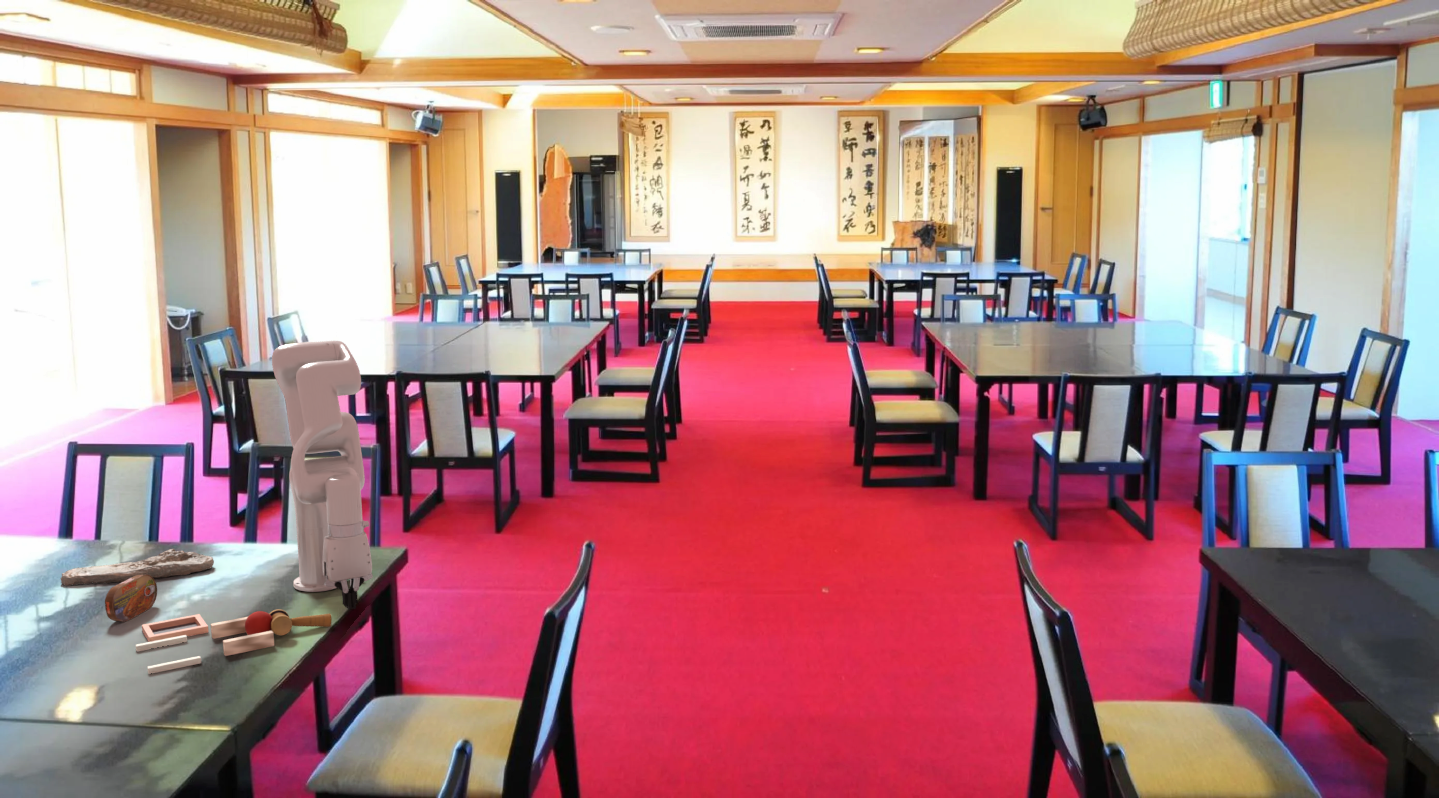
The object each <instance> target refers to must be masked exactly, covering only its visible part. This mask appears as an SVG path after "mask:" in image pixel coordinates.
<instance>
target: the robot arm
mask: <svg viewBox="0 0 1439 798" xmlns="http://www.w3.org/2000/svg"><path fill="white" fill-rule="evenodd" d="M271 365H272V371H273V373H274V377H275V380H276V381H277V385H278V387H279V389H280V390H281V392H282V394H283V397H284V399H285V400H284V401H285V405H286V406H285V407H286V414H287V422H288V423H287V424H288V431H289V437H290V441H291V446H292V449H293V450H292V452H291V453H292V454H291V459H290V467H291V468H290V470H289V474H288V475H289V477H288V478H289V485H290V489H291V493H292V498H293V504H294V513H295V514H294V515H295V525H296V542H297V556H298V569H299V570H298V572H299V576H298V577H296V578H294V580H293V582H292V584H293V585H292V586H293V587H294V589H296V590H298V591H300V592H301V591H302V592H307V593H314V592H315V593H316V592H327V591H331V590H335V589H338V590H339V591H341V599H342V605H343V606H344V607H345V608H346V610H348V611H350V610H352V609H353V610H355V609H356V608H357V604H358V603H359V602H358V591H359V589H360V587H361V586H362V584H364V583H365V582H367V581H369V580H372V579H373V577H374V575H373V562H372V555H371V548H370V544H369V539H368V535H367V533H366V532H365V528H367V527H370V522H369V520H364V519H363V508H362V507H363V506H362V504H363V503H362V492H361V491H362V490H363V488H364V486H365V481H366V480H365V467H364V461H363V454H362V448H361V447H362V446H361V438H360V431H359V427H358V423H357V421H356V419H355V417H354V416H353V415H352V414H351V413H349V412H346V411H345V412H344V411H341V406H340V403H339V402H340V401H339V396H341V397H342V396H350V395H352V396H353V395H356V394H358V393H359V391H360V390H361V387H362V377H361V376H362V375H361V372H360V368H359V366H358V365H359V364H358V363H357V361H356V360H355V358H354V356H353V354H352V352H351V351H350V349H349V348H348V346H347V345H346V343H344V342H343V341H340V340H325V341H308V342H307V341H305V342H294V343H288V344H283V345H280V346H278V347H276V348H275V349H274V350H273V352H272V355H271ZM329 452H330V453H331V452H339V454H340V455H338V456H329V457H318V458H310V459H305V457H306V455H310V454H318V453H329ZM348 580H349V581H350V583H349V586H348V582H347V581H348Z"/></svg>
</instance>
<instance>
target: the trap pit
mask: <svg viewBox="0 0 1439 798" xmlns="http://www.w3.org/2000/svg"><path fill="white" fill-rule="evenodd" d="M141 632H142V633H143V635H144V637H145V639H146V638H147V639H146V640H147V642H152V641H157V640H162V639H167V638H172V637H177V636H182V635H186V636H188V637H192V636H193V637H194V636H197V635H203V634H207V633H209V625H208V624H207V622H206V621H205V620H204V618H203V617H202V616H201V614H200V613H197V614H193V615H191V614H190V615H187V616H181V617H176V618H171V619H170V618H169V619H166V620H160V621H154V622H149V623H143V624H141Z"/></svg>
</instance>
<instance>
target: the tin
mask: <svg viewBox="0 0 1439 798" xmlns="http://www.w3.org/2000/svg"><path fill="white" fill-rule="evenodd" d="M157 596H158V586H157V582H156V580H155V577H152V576H150V575H136V576H134V577H132V578H130V579H128V580H126V581H124V582H120V583H118V584H116V585H114V586H112V587H111V588H110V589H109V590H108V591H107V594H106V595H105V599H104V608H105V613H106V615H107V617H108V618H109V620H111V621H114V622H122V623H125V622H128V621H130V620H133V619H134V618H136V617H137V616H139V615H141V614H143V613H145V612H146V611H148V610H150V609H151V608H152V607H153V606H154V605H155V602H156V600H157Z"/></svg>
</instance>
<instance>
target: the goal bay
mask: <svg viewBox="0 0 1439 798" xmlns="http://www.w3.org/2000/svg"><path fill="white" fill-rule="evenodd" d="M182 642H184V643H187V642H188V637H187V636H186V635H182V636H177V637H172V638H167V639H162V640H157V641H152V642H148V641H146V642H143V643H137V644H135V650H136V652H143V651H147V650H152V649H151V648H154V649H158V648H157V647H159V648H163V647H162V646H164V647H168V646H167V645H169V646H172V645H178V644H183V643H182ZM198 664H199V665H200V664H202V658H201V655H198V656H197V655H196V656H192V657H188V658H182V659H178V660H174V661H173V660H172V661H167V662H162V663H158V664H154V665H148V666H146V667H147V673H148V675H150V674H151V673H152V674H156V673H161V672H165V671H170V670H175V669H180V668H184V667H185V668H186V667H189V666H193V665H198Z"/></svg>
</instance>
